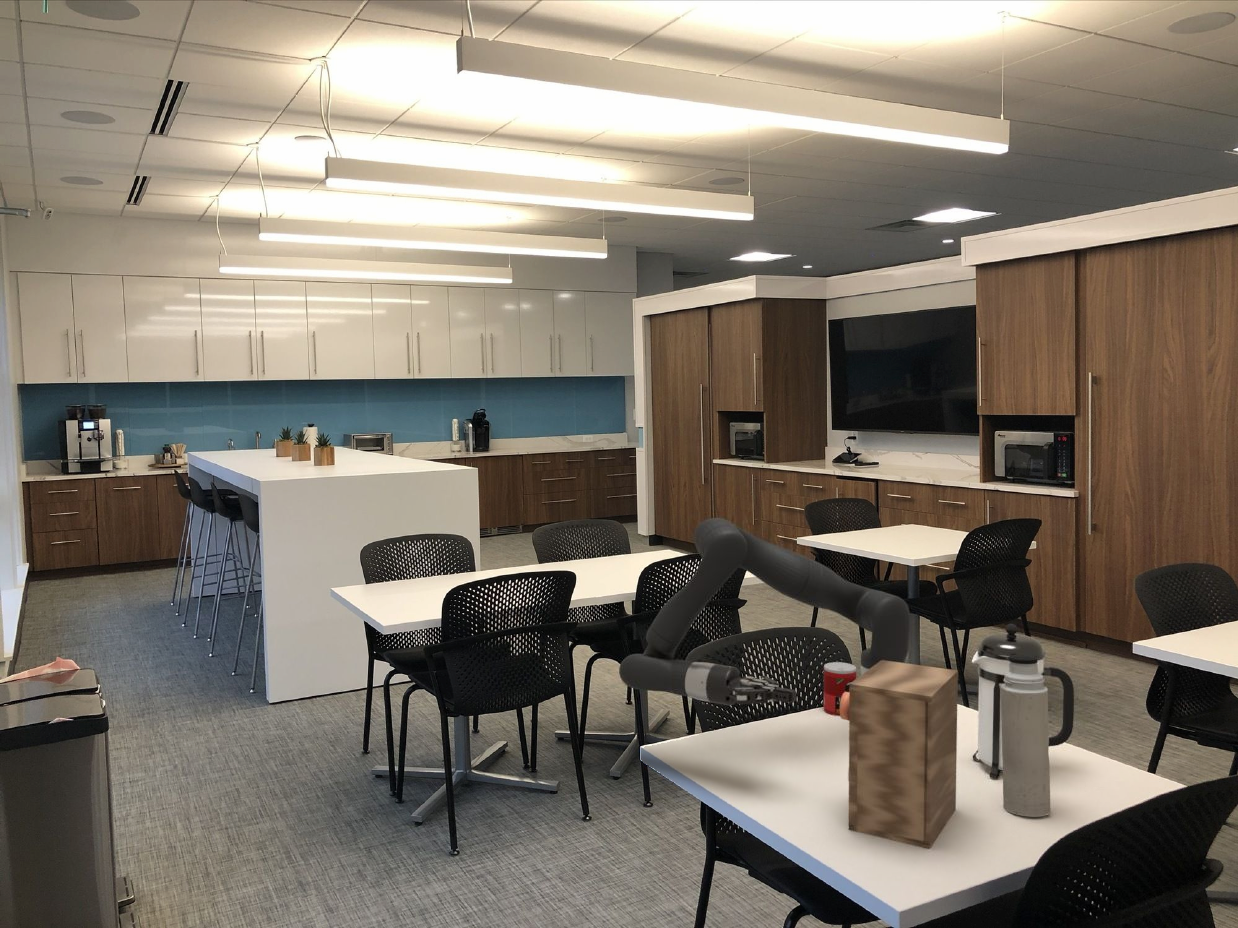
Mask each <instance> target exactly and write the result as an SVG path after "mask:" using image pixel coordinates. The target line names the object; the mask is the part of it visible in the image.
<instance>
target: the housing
mask: <svg viewBox="0 0 1238 928" xmlns="http://www.w3.org/2000/svg"><path fill="white" fill-rule="evenodd" d="M958 676H959V671H958V670H956V669H950V668H942V667H935V666H929V665H920V664H912V663H906V662H905V663H900V662H893V661H885V660H881V661H880V662H878V663H877V664H876V665H874V666H873V667H872V668H870V669H869V670H868V671H866V672H865V673H864V674H862V675H861V674H860V675H859V676H858V677H856V679H855V680H854V681H853V682H851V683H850V695H849V720H848V721H849V722H848V727H849V729H848V735H849V736H848V749H849V750H848V769H849V781H848V830H850V831H852V832H853V831H854V832H859V833H863V834H867V835H871V836H875V837H879V838H884V839H886V840H887V839H888V840H893V841H896V842H900V843H904V844H908V845H912V846H917V847H922V848H926V849H930V848H931V847H932V845H933V844H934V842H935V841H936V840H937V838H938V837H939V835H940V834H941V832H942V831H943V829H944V828H945V827H946V825H947V823H948V822H949V821H950V819H951V817H952V816H953V814H954V813H955V812H956V810H957V808H956V807H957V803H956V802H957V797H956V796H957V754H958V753H957V752H958V751H957V746H958V743H957V742H958V735H957V734H958V686H959V685H958V684H959V683H958V682H959V681H958V679H959V677H958Z"/></svg>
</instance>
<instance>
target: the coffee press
mask: <svg viewBox="0 0 1238 928" xmlns="http://www.w3.org/2000/svg"><path fill="white" fill-rule="evenodd" d="M1005 631H1006V632H999V633H992V634H988V635H987V636H984V637H983V638H982V639H981V640H980V644H978V645H977V650H976V652H975V654H974V655H973V657H972V660H971V663H972V664H977V674H978V707H977V708H978V709H977V710H978V715H977V719H978V721H977V722H978V724H977V725H978V726H977V750H976V751H975V753H974V754H973V755H972V760H973V761H974V762H980V761H981V762H983V763H984V764H985V765H986V766H989V767H990V771H989V778H990V779H994V780H999V778H1000V775H1001V773H1003V757H1002V723H1001V685H1002V684H1005V681H1004V678H1005V676H1004V675H1005V673H1006V672H1008V671H1009V664H1010V661H1009V656H1012V655H1029V656H1034V657H1037V658H1038V662H1037V665H1038V673H1040V674H1041V675H1042V676H1043V679H1044V680H1045V677H1047V676H1048V677H1051V678H1052V677H1054V678H1057V679H1058V680H1060V682H1061V684H1062V688H1063V696H1062V697H1063V698H1062V699H1063V700H1062V701H1063V703H1062V704H1063V705H1062V727H1061V730H1060V731H1059V733H1057V734H1056V735H1054V736H1049V747H1055V746H1061V745H1062V744H1064V743H1066V742H1067V741H1068V740H1069V739H1070V737H1071V735H1072V733H1073V728H1074V718H1075V717H1074V715H1075V713H1074V712H1075V711H1074V710H1075V690H1074V684H1073V681H1072V678H1071V677H1070V676H1069V674H1068V673H1067V672H1066V671H1064V670H1063V669H1060V668H1058V667H1053V666H1049V667H1044V666H1045V665H1044V663H1045V662H1044V661H1045V659H1046V657H1047V652H1046V650H1045V649H1044V647H1043V645H1042V643H1041V642H1040V641H1038V640H1037V639H1036V638H1033V637H1031V636H1028V635H1025V634H1020V633H1019V634H1018V631H1019V629H1018V627H1017V625H1016V624H1014V623H1008V624H1007V625H1006V626H1005ZM977 755H978V756H977ZM977 757H978V758H977Z"/></svg>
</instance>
